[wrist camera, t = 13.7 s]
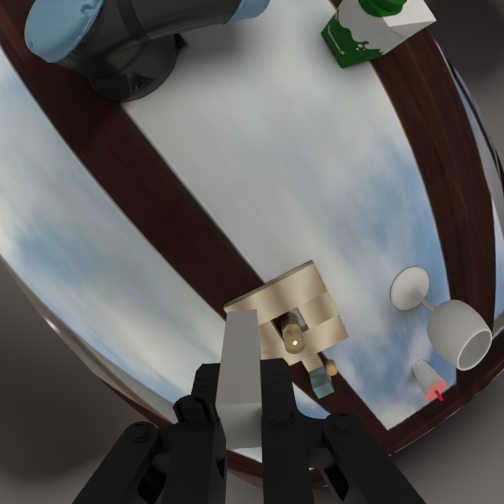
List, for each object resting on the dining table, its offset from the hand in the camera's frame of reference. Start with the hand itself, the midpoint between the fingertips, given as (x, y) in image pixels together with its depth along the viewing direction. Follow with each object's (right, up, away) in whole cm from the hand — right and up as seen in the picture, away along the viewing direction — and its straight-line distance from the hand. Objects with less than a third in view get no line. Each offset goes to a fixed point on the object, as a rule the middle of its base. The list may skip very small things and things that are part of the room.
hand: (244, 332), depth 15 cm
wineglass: (+29, -2, +33) cm, 44 cm away
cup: (+38, -21, +39) cm, 58 cm away
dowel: (+15, -17, +37) cm, 44 cm away
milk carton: (+16, +37, +21) cm, 45 cm away
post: (+7, -7, +34) cm, 36 cm away
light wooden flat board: (+9, -11, +35) cm, 38 cm away
